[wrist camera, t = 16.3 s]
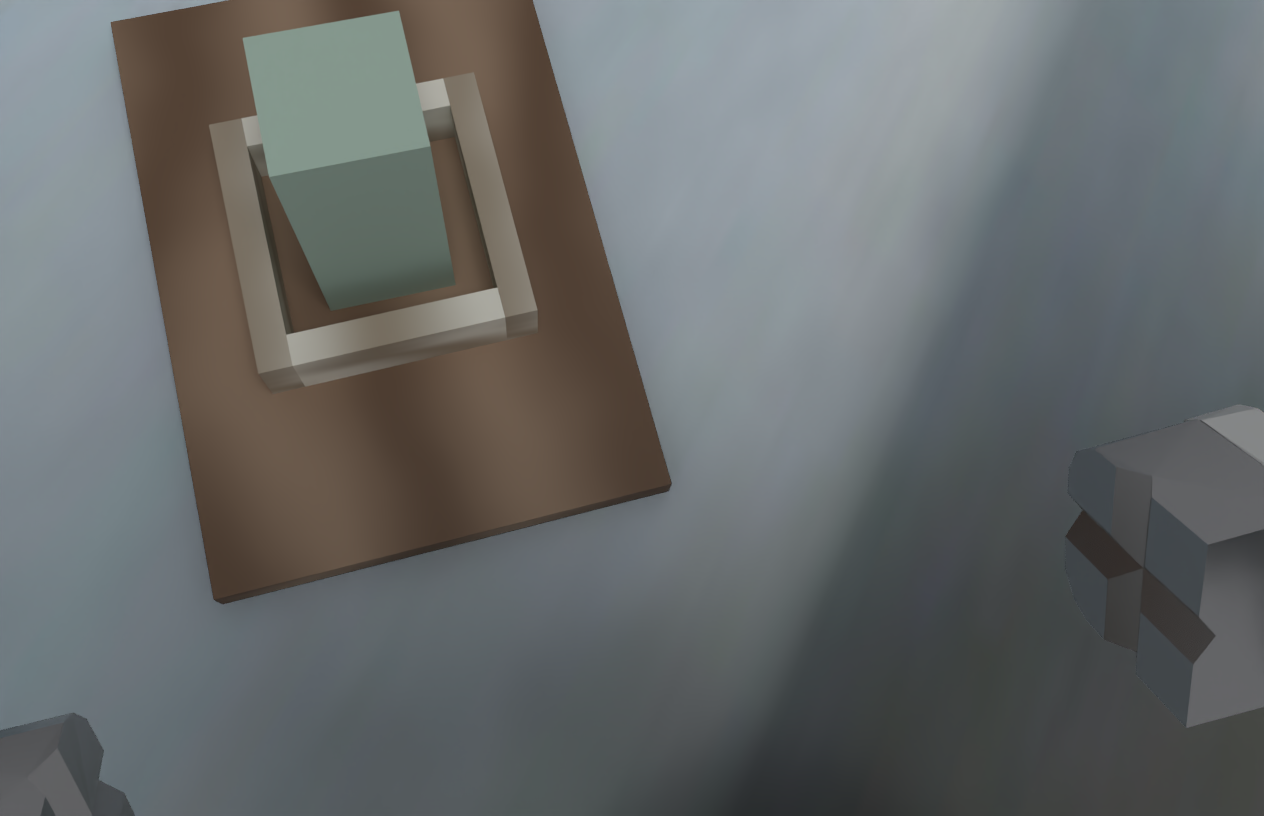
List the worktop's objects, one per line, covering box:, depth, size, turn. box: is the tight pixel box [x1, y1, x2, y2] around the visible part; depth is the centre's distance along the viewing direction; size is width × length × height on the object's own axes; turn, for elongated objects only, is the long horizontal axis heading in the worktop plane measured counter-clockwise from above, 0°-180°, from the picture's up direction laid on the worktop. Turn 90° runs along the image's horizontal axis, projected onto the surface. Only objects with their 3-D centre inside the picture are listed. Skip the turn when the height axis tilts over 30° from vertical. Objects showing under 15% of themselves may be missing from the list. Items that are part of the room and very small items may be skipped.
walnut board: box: [111, 0, 672, 604], centre depth 39 cm, size 14×20×3 cm
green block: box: [243, 11, 456, 311], centre depth 35 cm, size 4×4×9 cm
